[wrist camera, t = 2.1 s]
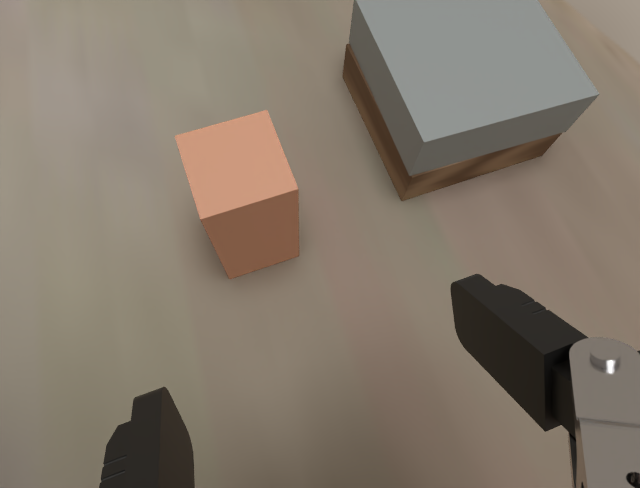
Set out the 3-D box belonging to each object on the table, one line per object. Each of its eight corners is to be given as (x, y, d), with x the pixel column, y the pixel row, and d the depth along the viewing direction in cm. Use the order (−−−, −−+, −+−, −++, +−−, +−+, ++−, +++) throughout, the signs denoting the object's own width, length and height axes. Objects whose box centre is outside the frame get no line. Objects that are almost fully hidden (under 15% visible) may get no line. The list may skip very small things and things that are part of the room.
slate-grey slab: (409, 176, 31) (424, 142, 28) (348, 42, 35) (354, -4, 32) (565, 131, 33) (599, 94, 29) (491, 8, 37) (512, -38, 33)
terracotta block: (229, 279, 32) (200, 219, 23) (209, 216, 34) (174, 135, 24) (299, 256, 33) (298, 189, 23) (276, 195, 34) (267, 110, 25)
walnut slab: (400, 204, 35) (412, 177, 31) (342, 80, 39) (346, 44, 35) (538, 158, 37) (565, 128, 33) (470, 45, 41) (487, 7, 37)
